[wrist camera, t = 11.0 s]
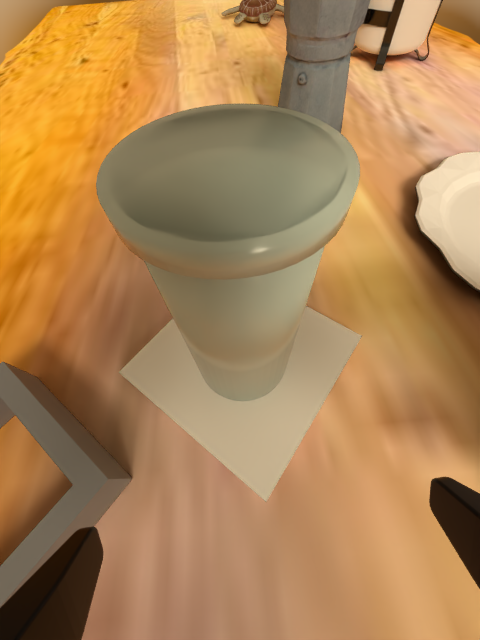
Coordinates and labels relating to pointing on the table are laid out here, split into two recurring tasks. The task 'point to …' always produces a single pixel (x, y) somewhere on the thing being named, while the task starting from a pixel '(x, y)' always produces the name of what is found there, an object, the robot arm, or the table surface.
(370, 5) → the coffee press
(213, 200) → the grey domed cup
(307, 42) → the moka pot
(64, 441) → the holder
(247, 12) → the decorative turtle
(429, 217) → the plate
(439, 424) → the table surface
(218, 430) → the plate
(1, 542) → the table surface
